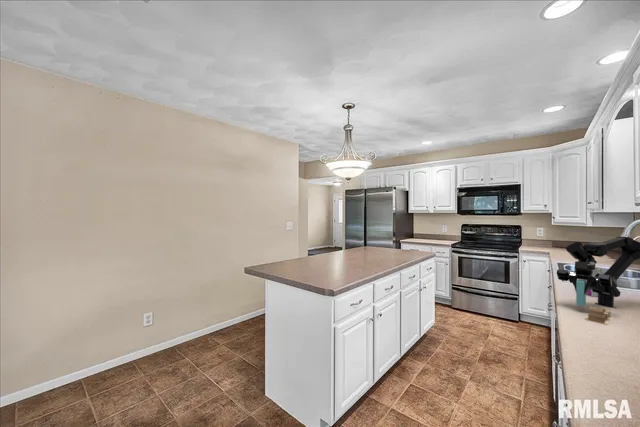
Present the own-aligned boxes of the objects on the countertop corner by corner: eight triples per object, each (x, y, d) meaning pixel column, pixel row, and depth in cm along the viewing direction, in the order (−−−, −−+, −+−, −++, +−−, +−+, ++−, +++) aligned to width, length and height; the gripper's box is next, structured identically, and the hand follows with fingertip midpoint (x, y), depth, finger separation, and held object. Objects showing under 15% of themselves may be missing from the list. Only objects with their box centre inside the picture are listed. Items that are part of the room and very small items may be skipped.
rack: (591, 312, 133) (591, 305, 133) (612, 317, 127) (612, 309, 127) (583, 322, 121) (584, 313, 121) (607, 327, 116) (607, 318, 116)
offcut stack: (589, 316, 125) (589, 306, 125) (605, 320, 121) (605, 310, 121) (587, 319, 122) (587, 309, 121) (603, 323, 118) (604, 312, 118)
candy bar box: (577, 291, 168) (577, 263, 168) (587, 291, 167) (587, 263, 167) (590, 296, 157) (591, 267, 157) (601, 297, 156) (602, 267, 156)
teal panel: (578, 302, 135) (578, 279, 134) (585, 304, 133) (585, 280, 132) (576, 305, 131) (576, 281, 131) (583, 306, 129) (583, 282, 129)
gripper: (557, 252, 141) (551, 278, 135) (611, 257, 127) (607, 286, 120) (561, 266, 146) (555, 291, 140) (613, 272, 132) (609, 301, 125)
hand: (580, 292), depth 131 cm, fingers closed on teal panel, 2 cm apart
